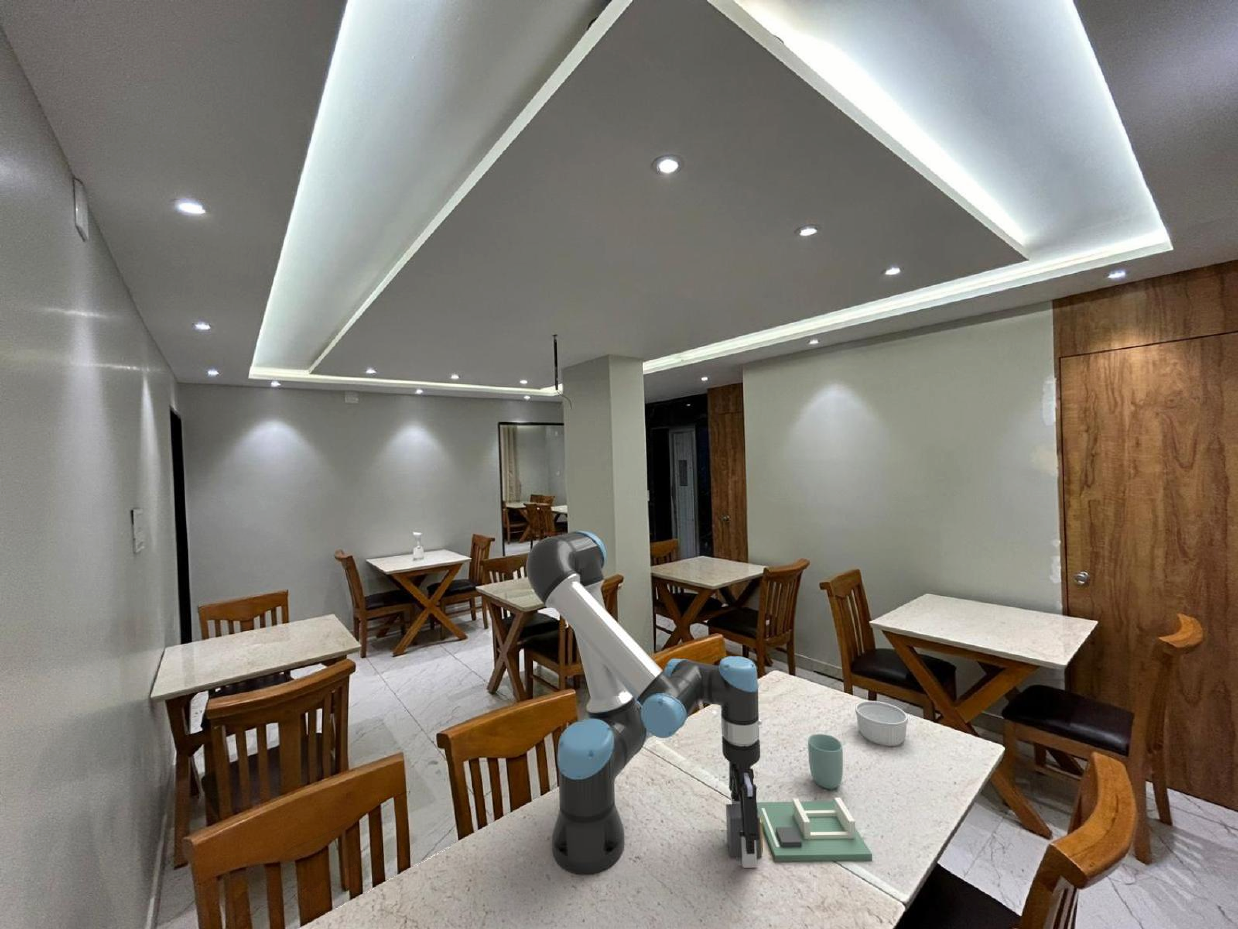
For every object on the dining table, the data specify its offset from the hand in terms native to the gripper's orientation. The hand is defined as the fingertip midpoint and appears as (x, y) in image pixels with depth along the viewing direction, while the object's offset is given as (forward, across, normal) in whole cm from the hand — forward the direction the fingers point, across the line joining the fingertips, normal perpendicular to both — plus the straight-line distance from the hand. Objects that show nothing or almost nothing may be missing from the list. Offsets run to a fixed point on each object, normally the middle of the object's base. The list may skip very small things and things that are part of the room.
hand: (744, 848), depth 97 cm
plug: (0, 0, 0) cm, 0 cm away
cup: (0, +20, -25) cm, 32 cm away
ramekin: (+1, +40, -49) cm, 63 cm away
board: (0, +4, -15) cm, 16 cm away
